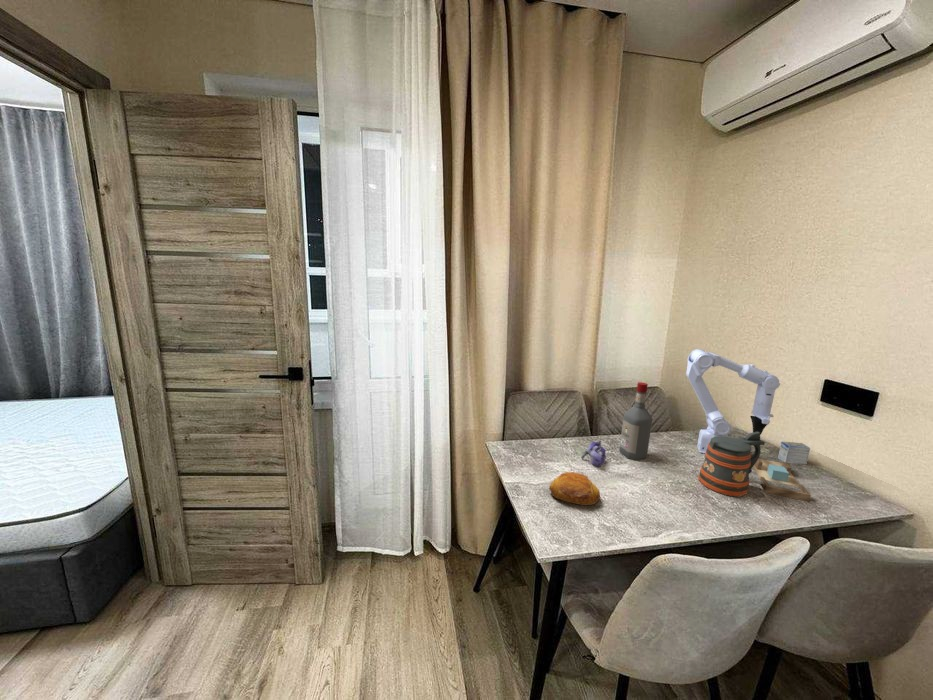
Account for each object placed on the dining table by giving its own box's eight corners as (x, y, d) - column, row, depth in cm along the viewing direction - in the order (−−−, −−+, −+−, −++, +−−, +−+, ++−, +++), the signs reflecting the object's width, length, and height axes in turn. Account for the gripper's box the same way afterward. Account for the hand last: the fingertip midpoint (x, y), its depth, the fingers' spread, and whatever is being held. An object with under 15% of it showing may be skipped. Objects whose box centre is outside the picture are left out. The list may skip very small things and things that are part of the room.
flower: (576, 447, 146) (602, 439, 144) (577, 447, 154) (601, 439, 152) (585, 471, 143) (612, 463, 141) (586, 470, 151) (611, 462, 149)
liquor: (630, 461, 150) (640, 387, 144) (616, 450, 159) (625, 380, 153) (650, 459, 153) (660, 386, 146) (635, 448, 161) (644, 380, 155)
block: (771, 479, 138) (773, 470, 137) (767, 472, 142) (769, 464, 142) (786, 482, 136) (789, 473, 135) (782, 475, 141) (784, 466, 140)
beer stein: (732, 472, 145) (741, 422, 141) (769, 494, 131) (781, 439, 127) (688, 475, 141) (697, 424, 137) (722, 498, 127) (733, 442, 123)
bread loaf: (595, 518, 118) (602, 497, 116) (545, 500, 123) (551, 478, 120) (598, 493, 131) (604, 473, 129) (552, 477, 136) (558, 457, 134)
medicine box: (797, 462, 155) (802, 442, 153) (806, 468, 150) (810, 447, 148) (776, 461, 155) (781, 441, 154) (784, 466, 151) (789, 446, 149)
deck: (765, 492, 132) (767, 480, 131) (745, 459, 155) (747, 449, 154) (809, 501, 127) (812, 489, 126) (782, 466, 151) (784, 456, 150)
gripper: (781, 410, 145) (774, 443, 148) (769, 399, 158) (763, 430, 161) (759, 407, 147) (752, 440, 150) (749, 396, 161) (743, 426, 163)
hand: (756, 434), depth 156 cm, fingers closed
